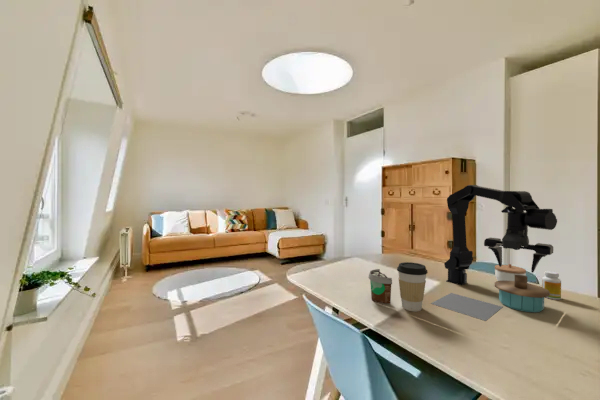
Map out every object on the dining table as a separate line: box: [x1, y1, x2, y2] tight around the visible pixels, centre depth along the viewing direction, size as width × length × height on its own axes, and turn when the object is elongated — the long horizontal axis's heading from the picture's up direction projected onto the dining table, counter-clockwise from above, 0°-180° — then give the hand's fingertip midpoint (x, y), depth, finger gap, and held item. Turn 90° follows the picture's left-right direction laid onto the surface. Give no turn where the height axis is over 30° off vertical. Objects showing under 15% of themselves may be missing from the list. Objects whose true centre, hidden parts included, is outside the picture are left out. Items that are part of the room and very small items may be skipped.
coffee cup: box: [396, 261, 429, 312], centre depth 93 cm, size 10×10×15 cm
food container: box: [368, 268, 393, 305], centre depth 101 cm, size 12×6×10 cm, turn 5°
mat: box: [430, 292, 503, 322], centre depth 95 cm, size 17×17×1 cm
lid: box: [494, 275, 550, 298], centre depth 95 cm, size 15×15×5 cm
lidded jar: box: [494, 263, 527, 281], centre depth 117 cm, size 11×11×9 cm
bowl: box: [498, 289, 545, 313], centre depth 95 cm, size 12×12×6 cm
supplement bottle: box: [541, 270, 562, 301], centre depth 104 cm, size 5×5×10 cm
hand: (515, 269), depth 97 cm, fingers open, 9 cm apart
